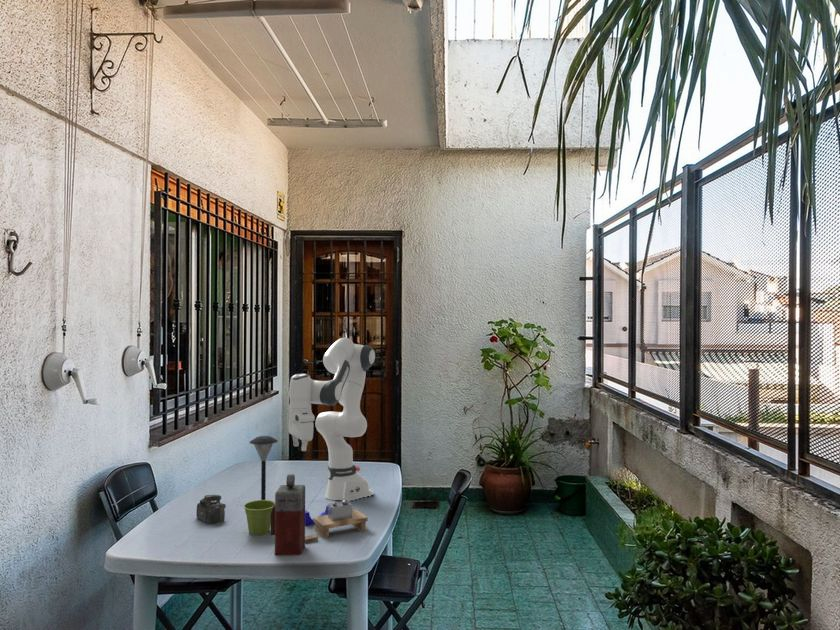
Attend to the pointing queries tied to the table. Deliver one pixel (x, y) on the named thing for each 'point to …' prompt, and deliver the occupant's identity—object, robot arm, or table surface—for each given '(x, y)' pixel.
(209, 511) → the camera
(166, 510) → the table surface
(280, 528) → the red grey canister
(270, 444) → the solar garden light
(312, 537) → the tan wooden block
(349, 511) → the housing
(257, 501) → the plant pot
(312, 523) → the blue curved block
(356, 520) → the stand
